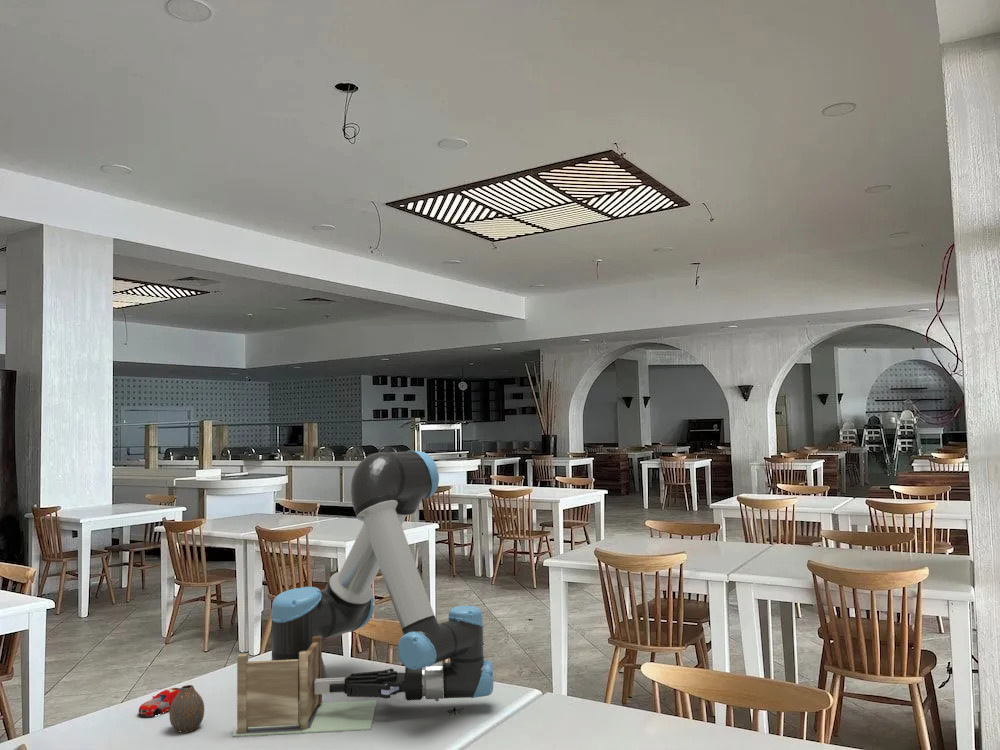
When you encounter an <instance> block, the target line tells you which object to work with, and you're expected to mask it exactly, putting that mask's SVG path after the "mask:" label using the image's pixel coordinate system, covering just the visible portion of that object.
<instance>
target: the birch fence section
mask: <svg viewBox="0 0 1000 750" xmlns="http://www.w3.org/2000/svg"><path fill="white" fill-rule="evenodd" d="M236 659H237V660H236V662H237V663H236V664H237V665H236V669H237V671H236V677H237V678H236V681H237V683H236V686H237V687H236V692H237V693H236V695H237V696H236V698H237V699H236V702H237V703H236V710H237V712H236V723H237V724H236V726H237V727H236V728H237V729H236V730H237V733H244V732H247V730H248V727H264V726H283V725H298V724H299V729H303V730H306V729H308V651H301V652H299V659H294V660H272V659H271V660H272V661H271V660H253V661H252V660H251V661H249V653H248V652H247V653H238V655H237V657H236Z"/></svg>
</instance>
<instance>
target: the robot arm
mask: <svg viewBox="0 0 1000 750" xmlns="http://www.w3.org/2000/svg"><path fill="white" fill-rule="evenodd" d="M439 483H440V473H439V472H438V467H437V464H436V462H435V459H433V458H432V457H431V455H429V454H428V453H426V452H424V451H421V450H416V451H415V450H407V451H393V452H392V451H389V452H387V451H386V452H385V451H381V452H380V451H379V452H375V453H372V454H369V455H367V456H366V457H364V458H363V459H362V460H361V461H360V462H359V463H358V465H357V466H356V468H355V470H354V471H353V475H352V478H351V484H350V497H351V504H352V507H353V508H352V509H353V510H354V513H355V516H356V519H357V520H358V521H361V522H363V524H362V526H361V528H360V529H359V530H360V531H359V533H358V535H357V537H356V539H355V541H354V543H353V545H352V547H351V549H350V551H349V553H348V555H347V557H346V559H345V562H344V563H343V565H342V568H341V570H340V571H338V572H335V573H333V574H331V577H330V578H329V580H328V582H327V584H326V586H325V588H324V589H321V590H320V589H319V588H318V587H315V586H302V587H299V588H297V587H295V588H291V589H288V590H285V591H282V592H281V593H279V594H277V595H276V596H275V597H274V598H273V601H272V603H271V612H270V619H271V659H270V661H272V660H294V659H299V652H301V651H307V650H308V648H309V647H310V646H311V645H312V638H313V636H322V640H325V639H328V638H331V637H335V636H340V635H344V634H347V633H352V632H355V631H356V630H359V629H361V628H363V627H364V626H366V625H367V624H368V623H369V622H370V620H371V619H372V617H373V615H374V614H373V613H374V610H375V605H374V604H373V603H374V602H375V597H374V591H373V588H372V585H373V583H374V580H375V579H376V576H377V574H378V573H379V571H380V573H381V575H382V578H383V580H384V583H385V586H386V589H387V592H388V594H389V597H390V600H391V603H392V606H393V608H394V611H395V613H396V616H397V619H398V622H399V625H400V627H401V631H402V634H403V635H402V636H401V637H400V638H399V640H398V643H397V649H398V651H397V654H398V657H399V660H400V662H401V663H402V665H403V666H404V668H405V669H404V672H398V671H397V670H395V668H388V669H384V670H383V669H382V670H373V671H366V672H356V673H351V674H350V675H348V676H346V677H329V674H328V671H327V669H326V666H325V662H324V660H323V658H322V679H316V680H315V682H314V683H315V694H322V695H328V694H329V695H331V694H345V695H346V696H347V697H348V698H349V697H351V698H352V697H354V698H359V697H360V698H382V699H391V696H394V695H397V694H399V693H405V694H404V695H405V696H404V697H405V700H406V701H422V699H423V697H424V698H425V700H434V701H435V702H439V700H440V699H441V700H442V699H465V698H466V699H468V698H470V699H474V698H482V697H488V696H490V695H492V693H493V691H494V668H493V662H492V661H491V660H489V659H488V660H486V659H485V657H484V631H483V630H484V625H483V612H482V610H481V609H480V608H479V607H478V606H475V605H458V606H457V605H456V606H454V607H451V608H450V609H449V610H448V611H449V612H448V617H447V621H444V622H441V623H438V620H437V618H436V615H435V613H434V611H433V608H432V605H431V602H430V600H429V597H428V593H427V591H426V588H425V586H424V583H423V581H422V578H421V575H420V572H419V570H418V567H417V564H416V561H415V559H414V556H413V553H412V550H411V548H410V546H409V543H408V540H407V537H406V534H405V531H404V529H403V526H402V525H403V523H404V521H405V520H406V517H409V516H412V515H414V514H415V513H416V511H417V509H418V507H419V506H420V503H421V501H422V500H423V499H425V500H426V499H428V498H430V497H432V496H434V494H435V493H436V492H437V490H438V488H439ZM448 659H449V661H447V662H444V661H445V660H448Z"/></svg>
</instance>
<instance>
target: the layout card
mask: <svg viewBox="0 0 1000 750" xmlns="http://www.w3.org/2000/svg"><path fill="white" fill-rule="evenodd" d="M377 703H378V700H376V699H375V700H373V699H372V700H360V701H359V700H357V701H355V700H354V701H337V702H336V701H335V702H322V703H321V705H317V706H316V708H315V710H314V711H313V713H312V715H311V716H310V718H309V720H308V729H306V730H303V729H299V724H298V725H283V726H264V727H248V730H247V732H244V733H237V729H236V730H235V731H234V733H233V734H232V738H239V737H241V738H242V736H244V737H259V736H261V737H262V735H263V736H277V735H278V736H281V735H297V734H298V735H299V734H314V733H315V734H316V733H318V734H319V733H334V732H335V733H336V732H339V733H340V732H353V731H355V732H356V731H370V730H372V724H373V721H374V716H375V711H376V708H375V707H377Z"/></svg>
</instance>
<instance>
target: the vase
mask: <svg viewBox="0 0 1000 750" xmlns="http://www.w3.org/2000/svg"><path fill="white" fill-rule="evenodd" d="M180 688H181V689H180V691H179V693H178V694H177V696H176V697H175V698H174V700H173V702H172V704H171V707H170V711H168V712H169V713H168V716H169V722H170V725H171V727H172V728H173V729H174V730H175V731H176V732H178V731H181V732H180V733H187V732H186V731H190V732H192V731H191V730H193V731H194V729H195V730H196V729H198V728H199V726H200V725H201V724H202V722H203V719H204V716H205V704H204V700H203V697H202V696H201V695H200V693H198V691H196V689H195V687H194V685H193V684H185V685H182V686H181V687H180Z"/></svg>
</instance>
